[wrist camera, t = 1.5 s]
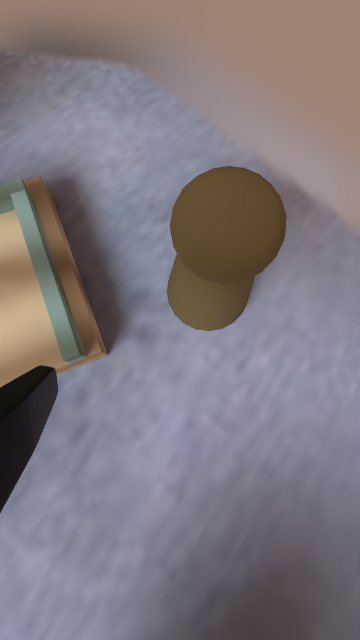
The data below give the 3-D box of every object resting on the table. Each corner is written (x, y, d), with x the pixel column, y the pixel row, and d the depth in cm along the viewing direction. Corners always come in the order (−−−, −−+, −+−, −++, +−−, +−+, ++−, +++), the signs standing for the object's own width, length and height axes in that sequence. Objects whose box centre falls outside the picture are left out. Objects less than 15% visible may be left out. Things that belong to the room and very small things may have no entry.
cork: (214, 239, 24) (243, 118, 14) (264, 299, 23) (339, 218, 13) (150, 283, 24) (129, 190, 13) (200, 347, 23) (222, 304, 12)
